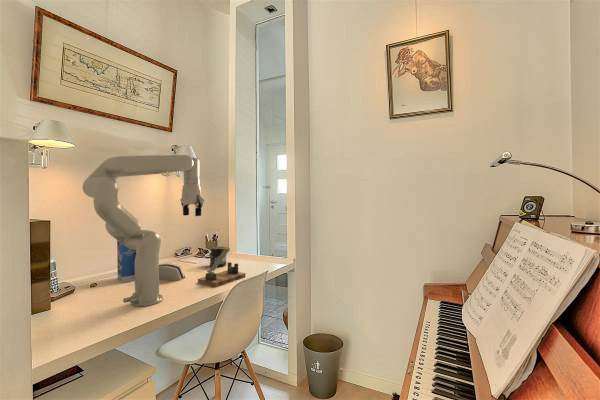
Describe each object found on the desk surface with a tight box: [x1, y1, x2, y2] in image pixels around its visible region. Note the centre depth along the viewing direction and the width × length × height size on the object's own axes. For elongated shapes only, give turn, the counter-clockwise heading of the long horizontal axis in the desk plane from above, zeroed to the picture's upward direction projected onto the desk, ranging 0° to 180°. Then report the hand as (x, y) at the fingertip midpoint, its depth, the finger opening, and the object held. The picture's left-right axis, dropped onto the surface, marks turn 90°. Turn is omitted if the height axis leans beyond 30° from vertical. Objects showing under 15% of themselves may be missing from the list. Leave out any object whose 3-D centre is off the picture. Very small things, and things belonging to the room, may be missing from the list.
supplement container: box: [209, 246, 227, 268], centre depth 196 cm, size 10×10×12 cm
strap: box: [206, 246, 230, 273], centre depth 161 cm, size 17×4×2 cm
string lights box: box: [116, 240, 137, 284], centre depth 165 cm, size 13×8×26 cm, turn 42°
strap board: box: [197, 261, 246, 288], centre depth 163 cm, size 22×14×8 cm, turn 147°
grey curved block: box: [159, 263, 186, 281], centre depth 165 cm, size 17×5×10 cm, turn 79°
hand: (192, 215), depth 150 cm, fingers open, 9 cm apart
